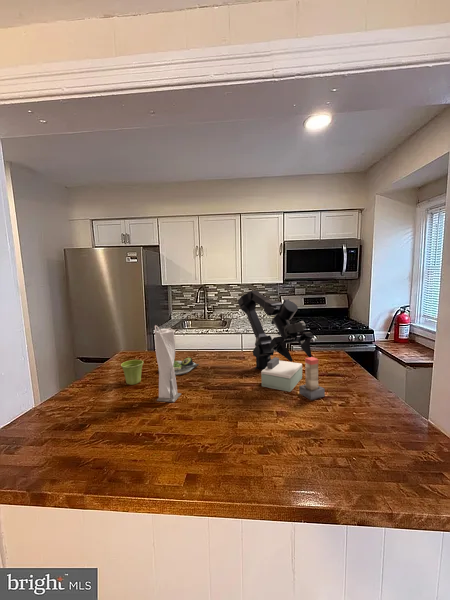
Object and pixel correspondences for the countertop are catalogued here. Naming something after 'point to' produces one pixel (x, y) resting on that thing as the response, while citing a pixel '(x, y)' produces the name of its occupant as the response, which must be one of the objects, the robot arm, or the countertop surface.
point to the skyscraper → (166, 364)
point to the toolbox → (281, 381)
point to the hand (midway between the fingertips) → (301, 359)
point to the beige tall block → (311, 373)
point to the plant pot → (132, 371)
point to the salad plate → (183, 366)
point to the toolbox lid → (281, 368)
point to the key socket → (311, 392)
